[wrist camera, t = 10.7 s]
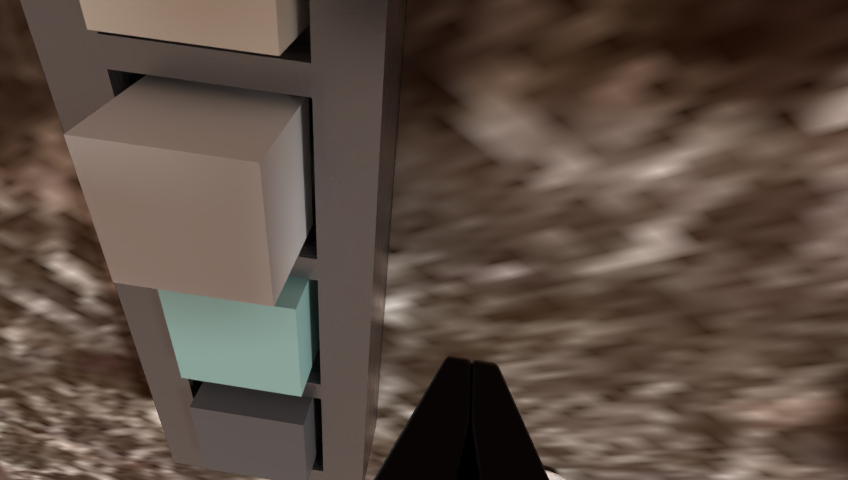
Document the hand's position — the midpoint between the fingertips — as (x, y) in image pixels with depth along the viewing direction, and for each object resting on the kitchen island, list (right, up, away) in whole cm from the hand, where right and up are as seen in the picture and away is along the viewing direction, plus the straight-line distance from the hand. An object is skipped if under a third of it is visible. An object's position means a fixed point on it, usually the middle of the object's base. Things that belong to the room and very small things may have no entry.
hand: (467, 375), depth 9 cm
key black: (-8, -5, +20) cm, 22 cm away
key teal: (-7, +1, +15) cm, 17 cm away
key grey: (-7, +5, +9) cm, 13 cm away
